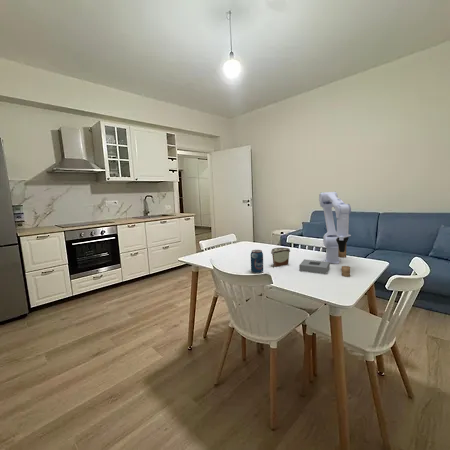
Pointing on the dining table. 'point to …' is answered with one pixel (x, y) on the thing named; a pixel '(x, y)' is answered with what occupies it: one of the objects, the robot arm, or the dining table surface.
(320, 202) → the robot arm
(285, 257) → the food container
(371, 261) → the dining table surface
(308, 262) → the hole plate
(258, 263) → the soda can
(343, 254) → the tall pin
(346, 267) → the short pin
